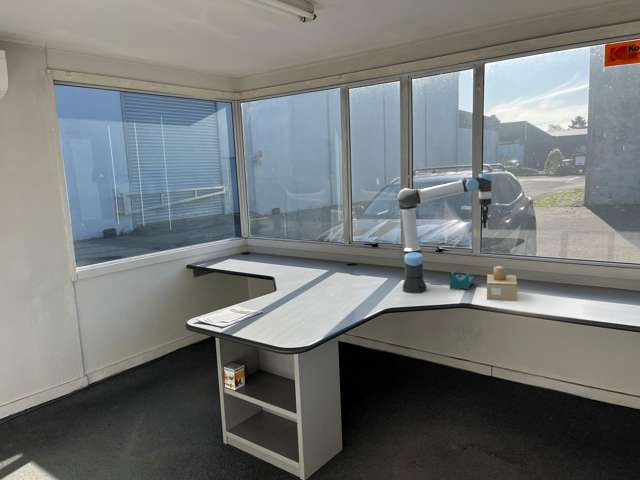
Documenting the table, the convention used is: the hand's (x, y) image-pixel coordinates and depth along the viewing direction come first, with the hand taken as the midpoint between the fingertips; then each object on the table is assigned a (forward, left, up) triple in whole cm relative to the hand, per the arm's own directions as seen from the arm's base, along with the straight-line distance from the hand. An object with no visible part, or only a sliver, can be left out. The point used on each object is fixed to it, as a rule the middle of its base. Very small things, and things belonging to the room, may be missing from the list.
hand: (485, 231), depth 289 cm
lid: (+10, -25, -25) cm, 37 cm away
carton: (+10, -25, -35) cm, 44 cm away
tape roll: (+9, -25, -25) cm, 36 cm away
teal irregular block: (-14, -8, -35) cm, 39 cm away
